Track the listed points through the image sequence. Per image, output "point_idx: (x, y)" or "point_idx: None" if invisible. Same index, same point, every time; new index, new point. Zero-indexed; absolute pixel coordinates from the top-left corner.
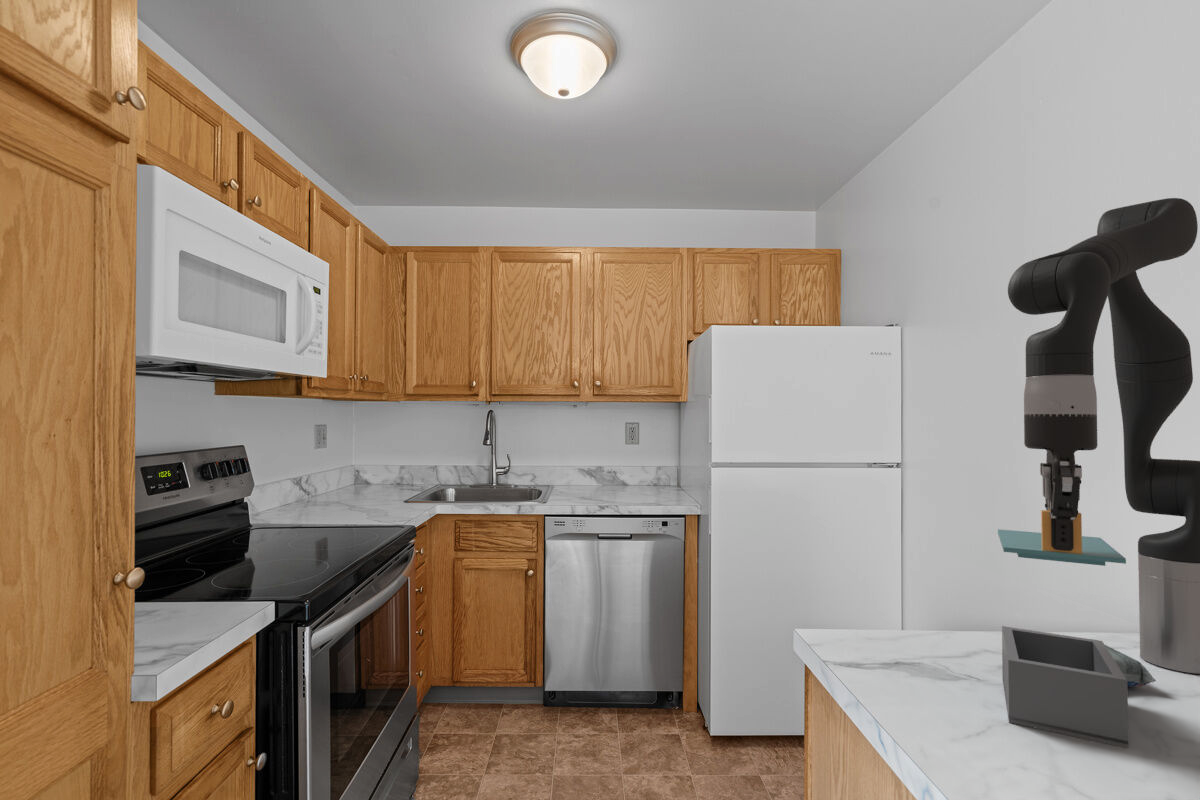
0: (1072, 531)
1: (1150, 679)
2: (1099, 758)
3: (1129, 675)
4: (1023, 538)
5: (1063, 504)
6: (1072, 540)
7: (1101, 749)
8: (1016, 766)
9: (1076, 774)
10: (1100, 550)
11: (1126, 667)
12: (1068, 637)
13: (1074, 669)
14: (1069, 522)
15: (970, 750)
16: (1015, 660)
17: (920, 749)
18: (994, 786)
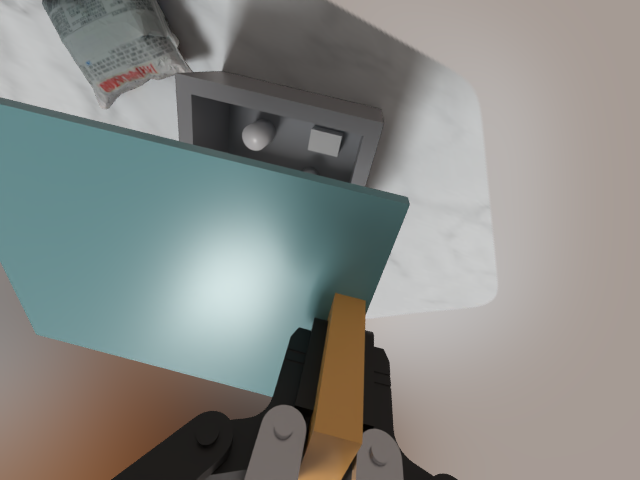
0: (373, 387)
1: None
2: (416, 155)
3: (155, 7)
4: (156, 334)
5: (233, 474)
6: (371, 357)
7: (392, 143)
8: (449, 240)
9: (457, 193)
10: (262, 218)
11: (146, 9)
12: (188, 129)
13: (356, 184)
14: (394, 438)
15: (424, 267)
16: None
17: (430, 302)
18: (489, 268)
